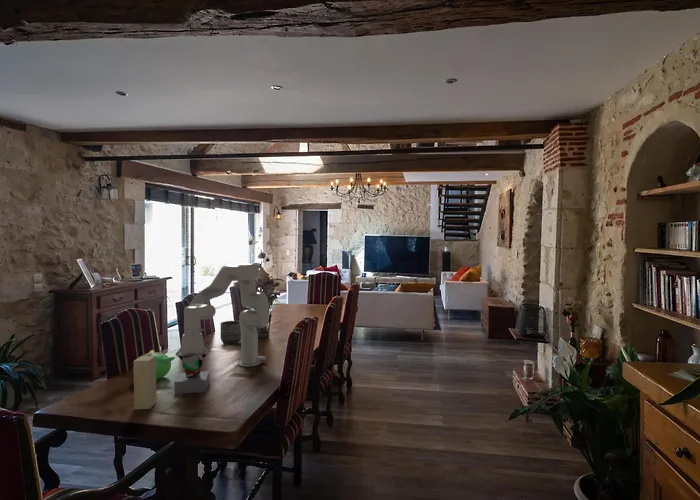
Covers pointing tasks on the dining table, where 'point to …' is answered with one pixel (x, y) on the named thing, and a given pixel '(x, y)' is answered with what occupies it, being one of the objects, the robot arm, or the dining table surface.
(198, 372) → the food container
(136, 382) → the beige tall block
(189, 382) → the grey block
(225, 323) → the planter
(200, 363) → the robot arm
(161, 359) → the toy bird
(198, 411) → the dining table surface
